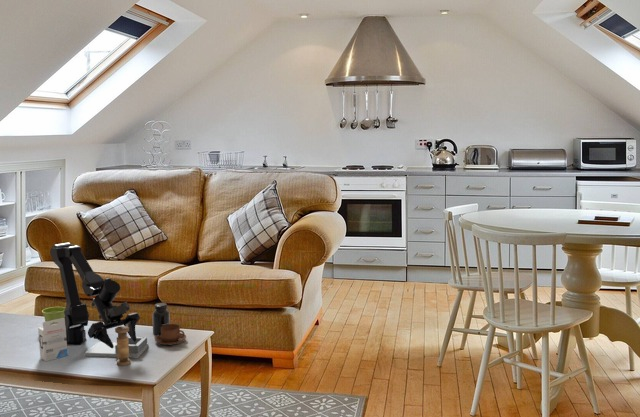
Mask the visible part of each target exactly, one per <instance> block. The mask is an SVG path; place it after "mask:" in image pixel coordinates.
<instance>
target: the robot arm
mask: <svg viewBox="0 0 640 417" xmlns="http://www.w3.org/2000/svg"><path fill="white" fill-rule="evenodd" d="M49 254H50V257H51V259H52V261H53V263H54V264H55V265H56V266H57V267H58V268H59V273H60V278H61V283H62V286H63V287H62V288H63V293H64V297H65V303H66V305H65V310H64V318H65V326H66V339H67V346H68V345H69V346H71V345H73V346H81V344H83V343H84V342H86V341H87V338H86V337H87V336H88V337H89V339H94V340H97V341H99V342H103V343H105V344H106V345H107V346H109V347H110V348H113V347H114V346H113V343H112V340H111V338H110V336H109V334H108V330H109V329H113V328H117V327H121V326H127V327H129V331H128V332H127V335H128V336H129V337H131V338H132V340H133V341H134V342H136V337H137V334H136V333H137V332H136V325H137V324H138V322H139V321H140V319H141V316H140V314H139V313H138V312H132V313H128V311H130V310H131V308H130V305H129V303H128V302H127V301H125V302H122V303H120V305H116V304H115V305H114V304H113V301H114V300H115V298H116V297H117V295H118V293H119V292H120V291H121V285H120V283H118V281H115V280H112V279H111V277H109V278H105V279H104V278H103V277H102V276H101V275H100V274H98V273H95V271H94V270H93V268H92V266H91V265H90V263H89V262H88V260H87V259H86V257H85V255H84V253H83V252H82V248H81V246H80V245H77V244H72V243H70V242H64V243H58V244H57V243H56V244H53V245H52V246H51V248H50V250H49ZM74 269H75V270H76V272H77V273H78V275H79V277H80V279H81V280H82V282H81V288H82V291H83V293H84V294H85V296H86V297H94V298H92V302H91V306H92V307H95V308H96V310H97V312H98V314H99V316H98V319H99V320H102V321H98V322H93V323H92V324H91V325H90V327H89V328H88V330H87V335H86V329H85V327H87V326H88V325H89V319H90V318H89V317H90V314H89V312H88V308H87V307H88V306H87V304H86V303H83V302H82V301H81V299H80V295H79V294H80V293H79V290H78V285H77V280H76V276H75V271H74ZM127 313H128V314H127ZM124 314H127V315H126V316H125V318H123V317H124ZM121 318H123V319H121Z"/></svg>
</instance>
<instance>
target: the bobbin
mask: <svg viewBox="0 0 640 417" xmlns="http://www.w3.org/2000/svg"><path fill="white" fill-rule="evenodd" d="M128 331H129V327H127V326H124V325H121V326H117V327H114V332H115V333H116V334H117V337H116V342H117V355H118V357H117V358H118V359H117V360H116V365H117V366H120V367H121V366H122V367H124V366H128V365H130V364H131V362H132V361H131V359H130V357H129V340H128V337H129V335H128Z"/></svg>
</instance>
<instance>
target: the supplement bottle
mask: <svg viewBox="0 0 640 417" xmlns="http://www.w3.org/2000/svg"><path fill="white" fill-rule="evenodd" d="M170 316H171V315H170V311H169V310H168V304H167V303H166V302H157V303H155V305H154V311H153V312H152V333H153V335H155V336H158V335H161V327H162V326H164V325H168V324H171V319H170V318H171V317H170Z"/></svg>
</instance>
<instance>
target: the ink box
mask: <svg viewBox="0 0 640 417" xmlns="http://www.w3.org/2000/svg"><path fill="white" fill-rule="evenodd" d="M53 322H55V323H56V322H58V324H53V325H50V324H51V323H53ZM37 330H38V343H39V346H38V347H39V358H40V359H41V360H42V361H44V362H48V361H52V360H56V359H60V358H63V357H67V356H68V345H67V339H66V326H65V318H60V319H55V320H51V321H46V322H45V321H43V322H42V326H41V327H40V326H39V327H37Z"/></svg>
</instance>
